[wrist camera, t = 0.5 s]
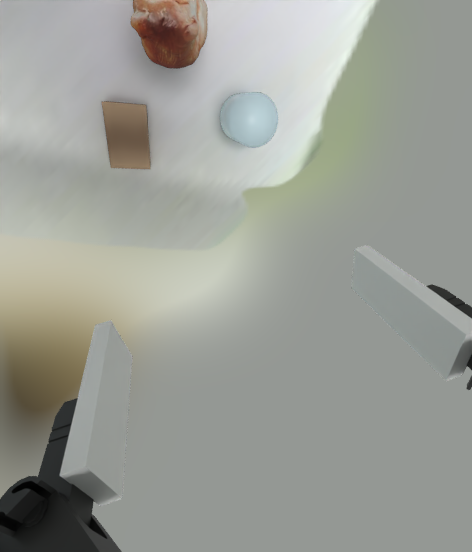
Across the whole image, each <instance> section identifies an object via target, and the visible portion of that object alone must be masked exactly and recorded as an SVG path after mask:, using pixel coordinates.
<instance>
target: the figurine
mask: <svg viewBox="0 0 472 552" xmlns="http://www.w3.org/2000/svg"><path fill="white" fill-rule="evenodd" d="M133 8H134V13H133V15H132V17H131V26H132V27H133V28H134V29H135V30H136V31H137V32H138V34H139V36H140V37H141V40H142V45H143V47H144V50H145V52H146V54H147V56H148V57H149V58H150V59H151V60H152V61H153V62H154V63H156V64H159V65H161V66H164V67H167V68H183V67H186V66H189V65H191V64H193V63H194V62H195V60H196V59H197V57H198V55H199V51H200V49H201V48H202V46H203V45H204V43H205V39H206V35H207V5H206V3H205V1H204V0H133Z"/></svg>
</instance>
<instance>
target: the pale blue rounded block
mask: <svg viewBox="0 0 472 552" xmlns="http://www.w3.org/2000/svg"><path fill="white" fill-rule="evenodd" d="M220 123H221V126H222V129H223V131H224V132H225V134H226V135H227V136H228V137H229V138H231V139H233V140H235V141H237V142H239V143H241V144H243V145H245V146H247V147H252V148H256V147H260V146H263V145H265V144H266V143H267V142H268V141H269V140H270V139H271V138H272V137H273V135H274V133H275V131H276V129H277V124H278V113H277V109H276V106H275V104H274V102H273V101H272V100H271V99H270V98H269V97H268V96H267V95H265V94H263V93H259V92H252V93H239V94H235V95H232V96H231V97H229V98H228V99H227V100H226V101H225V103H224V104H223V106H222V109H221V113H220Z"/></svg>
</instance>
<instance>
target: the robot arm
mask: <svg viewBox="0 0 472 552" xmlns="http://www.w3.org/2000/svg"><path fill="white" fill-rule="evenodd" d="M351 288H352V289H353V290H354V291H355V292H356V293H357V294H358V295H359V296H360V297H361V298H362V299H363V300H364V301H365V302H366V303H367V304H368V305H369V306H370V307H371V308H372V309H373V310H374V311H375V312H376V313H377V314H378V315H379V316H380V317H381V318H382V319H383V320H384V321H385V322H386V323H387V324H388V325H389V326H390V327H391V328H392V329H393V330H394V331H395V332H396V333H398V335H399V336H400V337H402V339H403V340H404V341H405V342H406V343H408V344H409V345H410V346H411V347H412V348H413V349H414V350H415V351H416V352H417V353H418V354H419V355H420V356H421V357H422V358H423V359H424V360H425V361H426V362H427V363H428V364H429V365H430V366H431V367H432V368H433V369H434V370H435V371H436V372H437V373H438V374H439V375H440V376H441V377H442V378H443V379H444V380H445V381H448V380H450V379H453V378H456V377H459V376H462V375H463V373H464V371H465V369H466V367H467V366H468V367H469V368H470V369H471V370H472V307H471V306H469V305H468V304H465V303H464V302H463V301H462V300H460V299H459V298H456V296H454V295H453V294H451V293H450V292H448V291H447V290H445V289H443V288H440V287H437V286H435V285H429V286H425V285H423V284H422V283H421V282H419V281H418V280H416V279H415V278H414V277H412V276H410V275H409V274H408V273H406V272H405V271H404V270H402V269H401V268H399V267H398V266H396V265H395V264H394V263H392V262H391V261H390V260H388V259H387V258H385V257H384V256H382V255H381V254H380V253H378V252H377V251H375V250H374V249H373V248H371V247H370V246H368V245H366V246H362V247H359V248H356V249H355V251H354V263H353V276H352V287H351ZM131 369H132V355H131V353H130V351H129V350H128V348H127V346H126V345H125V343H124V341H123V340H122V338H121V336H120V335H119V333H118V331H117V330H116V328H115V326H114V325H113V323H112V321H107V322H104V323H100V324H97V325H95V328H94V332H93V337H92V341H91V345H90V349H89V354H88V358H87V362H86V366H85V370H84V374H83V379H82V383H81V387H80V392H79V395H78V398H77V399H74V400H71V401H67V402H65V403H64V404H63V406H62V407H61V409H60V411H59V412H58V413H57V415H56V417H55V421H54V424H53V427H52V432H51V434H50V438H49V444H48V445H47V448H46V451H45V455H44V458H43V461H42V465H41V468H40V472H39V475H38V477H36V476H29V477H26V478H24V479H21V480H19V481H18V482H17V483H15V484H14V485H13V486H12V487H10V488H9V489H8V490H7V492H6V493H5V494H4V495H3V496H2V497H1V499H0V552H121V550H120V549H119V548H118V546H117V545H116V544H115V542H114V541H113V540H112V538H111V537H110V536H109V534H108V533H107V532H106V531H105V529H104V528H103V527H102V525H101V524H100V523H99V522H98V520H97V519H96V518H95V516H94V515H92V508H93V501H94V502H96V503H97V504H98V505H100V506H103V505H106V504H108V503H111V502H114V501H116V500H120V499H122V498H123V482H124V468H125V454H126V440H127V426H128V411H129V397H130V382H131ZM471 387H472V376H471V378H470V380H469V382H468V384H467V389H468V390H470V389H471Z"/></svg>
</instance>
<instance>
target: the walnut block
mask: <svg viewBox="0 0 472 552" xmlns="http://www.w3.org/2000/svg"><path fill="white" fill-rule="evenodd" d="M102 108H103V115H104V122H105V129H106V136H107V144H108V151H109V158H110V165H111V168H131V169H150V149H149V135H148V120H147V106H146V105H143V104H131V103H120V102H109V101H104V102H102Z"/></svg>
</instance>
